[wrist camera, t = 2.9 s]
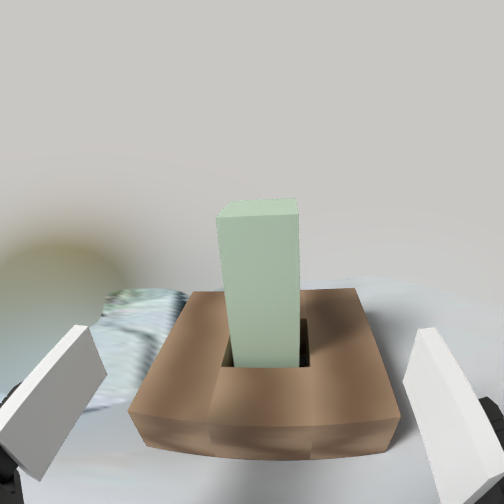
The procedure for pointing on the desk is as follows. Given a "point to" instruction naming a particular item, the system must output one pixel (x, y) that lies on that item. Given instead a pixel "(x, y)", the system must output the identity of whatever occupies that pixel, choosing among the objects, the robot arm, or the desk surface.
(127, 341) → the desk surface
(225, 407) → the pocket dock
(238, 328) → the sage block
